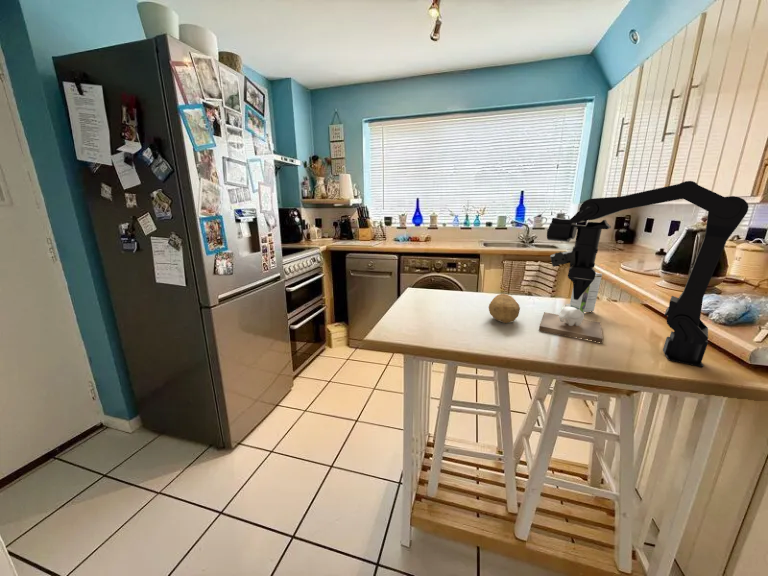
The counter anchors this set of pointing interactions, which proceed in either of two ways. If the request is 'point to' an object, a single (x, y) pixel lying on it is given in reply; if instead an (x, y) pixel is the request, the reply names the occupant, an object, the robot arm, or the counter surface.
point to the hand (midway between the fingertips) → (576, 295)
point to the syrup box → (587, 296)
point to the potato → (504, 308)
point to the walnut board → (571, 328)
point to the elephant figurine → (571, 315)
